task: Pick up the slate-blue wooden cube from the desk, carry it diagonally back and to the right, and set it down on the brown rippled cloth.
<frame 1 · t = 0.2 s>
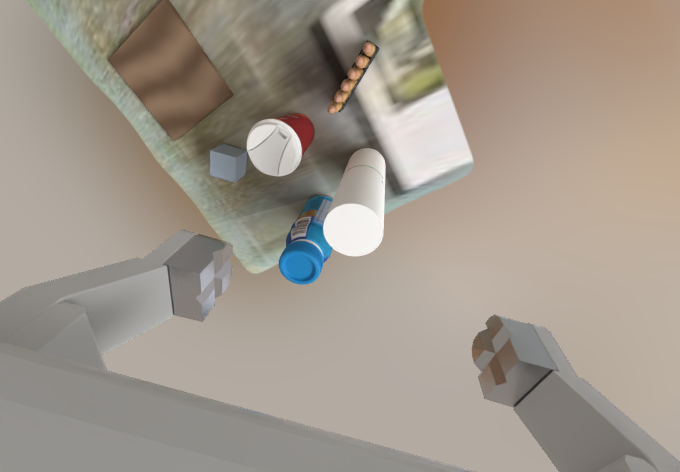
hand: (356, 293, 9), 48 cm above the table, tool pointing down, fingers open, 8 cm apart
beverage bottle: (323, 211, 62), on the table
ammunition clip: (355, 77, 48), on the table
brown rippled cloth: (173, 77, 52), on the table
cylindrical container: (366, 166, 55), on the table
coffee cup: (299, 130, 54), on the table
slate cube: (234, 159, 58), on the table
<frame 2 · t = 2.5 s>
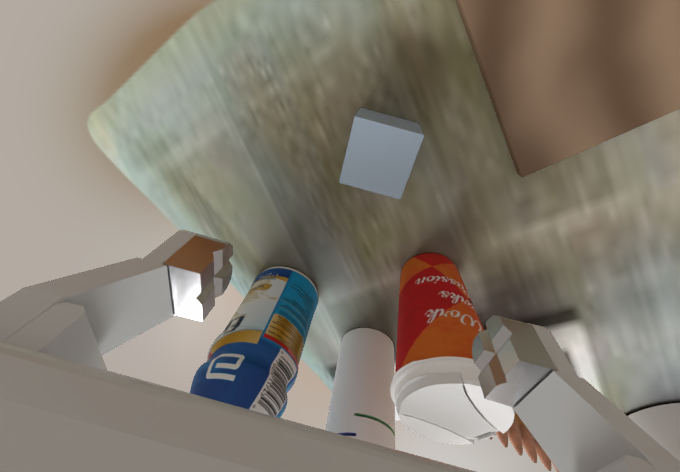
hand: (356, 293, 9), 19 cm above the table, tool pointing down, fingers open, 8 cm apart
beverage bottle: (287, 289, 36), on the table
ammunition clip: (488, 345, 36), on the table
brown rippled cloth: (611, 12, 19), on the table
cylindrical container: (367, 345, 39), on the table
coffee cup: (427, 273, 32), on the table
slate cube: (381, 144, 26), on the table
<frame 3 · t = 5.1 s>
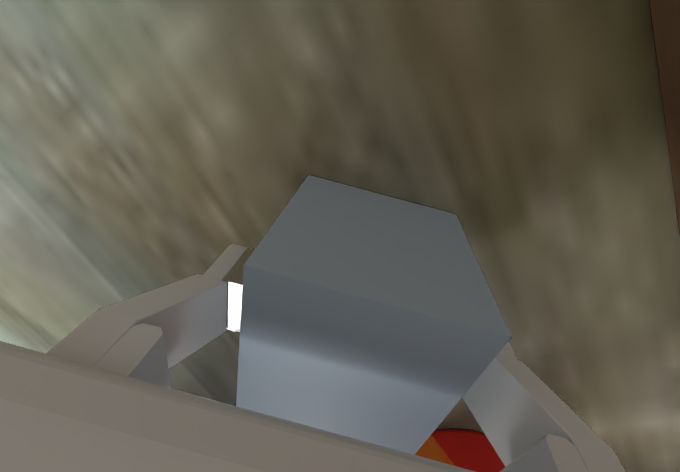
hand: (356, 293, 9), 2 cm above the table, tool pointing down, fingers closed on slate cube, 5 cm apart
coffee cup: (456, 451, 17), on the table
slate cube: (362, 254, 11), on the table, touching gripper
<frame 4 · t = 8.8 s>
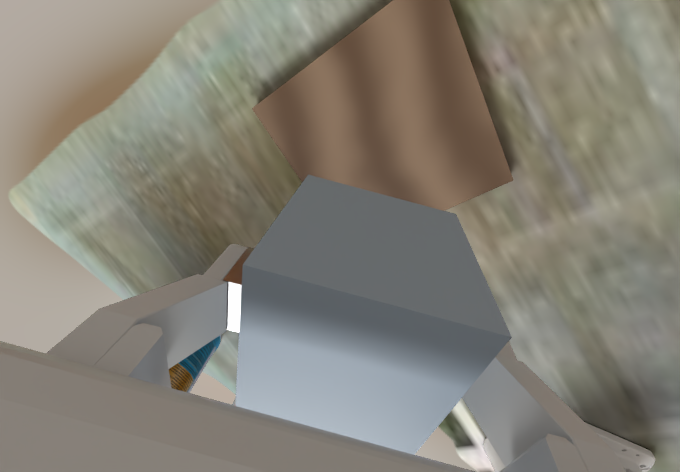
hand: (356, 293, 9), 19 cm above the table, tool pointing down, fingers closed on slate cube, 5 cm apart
beverage bottle: (196, 326, 42), on the table
brown rippled cloth: (382, 141, 25), on the table
slate cube: (362, 254, 11), point 17 cm above the table, touching gripper
when the fingers open (5 cm above the table, at t = 12.5 s): slate cube drops 1 cm, resting on brown rippled cloth.
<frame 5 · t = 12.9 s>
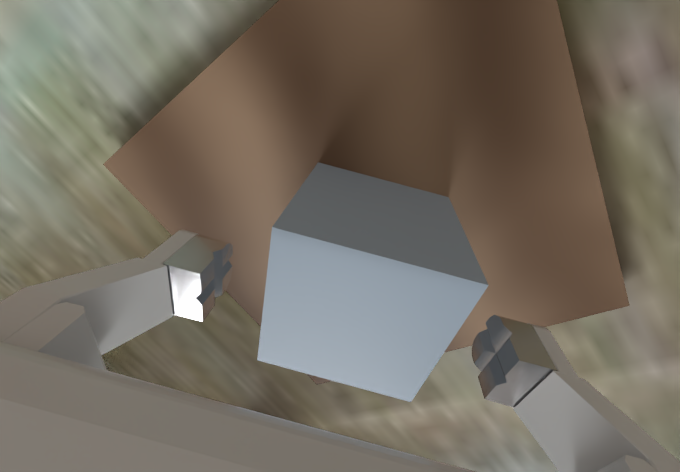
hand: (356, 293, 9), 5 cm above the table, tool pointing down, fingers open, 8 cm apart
brown rippled cloth: (366, 223, 13), on the table
slate cube: (365, 235, 12), point 1 cm above the table, touching brown rippled cloth
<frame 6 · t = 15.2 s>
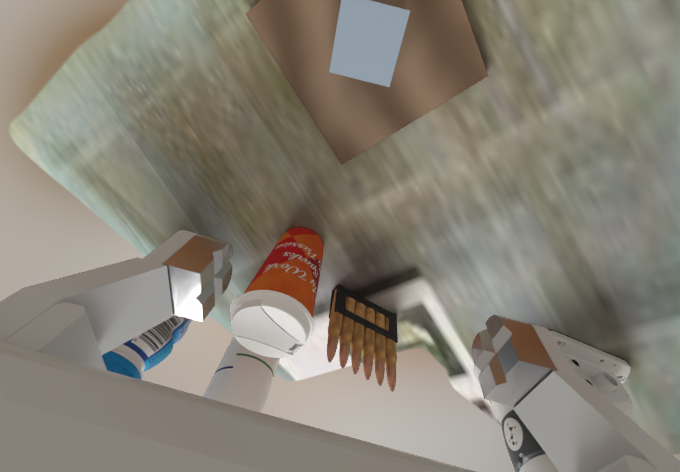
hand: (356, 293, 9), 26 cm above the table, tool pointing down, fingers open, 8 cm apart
beverage bottle: (197, 264, 44), on the table
ammunition clip: (364, 302, 44), on the table
brown rippled cloth: (368, 45, 27), on the table
cylindrical container: (272, 309, 47), on the table
coffee cup: (302, 244, 40), on the table
slate cube: (368, 45, 26), point 1 cm above the table, touching brown rippled cloth
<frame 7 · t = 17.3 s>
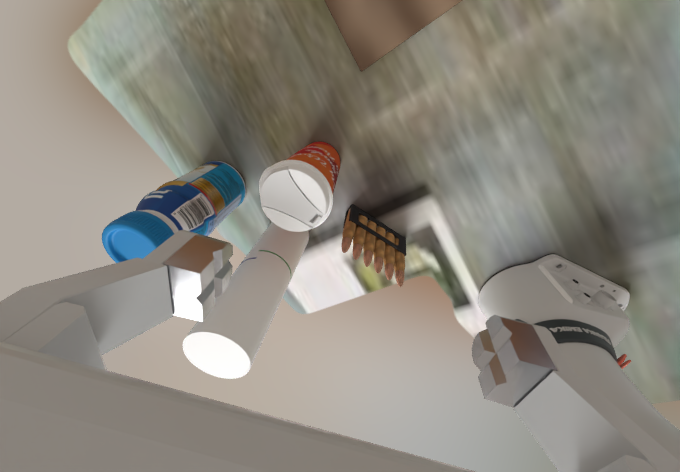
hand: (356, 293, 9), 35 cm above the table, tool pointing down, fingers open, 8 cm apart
beverage bottle: (223, 183, 48), on the table
ammunition clip: (376, 225, 47), on the table
cylindrical container: (289, 233, 51), on the table
coffee cup: (320, 161, 43), on the table
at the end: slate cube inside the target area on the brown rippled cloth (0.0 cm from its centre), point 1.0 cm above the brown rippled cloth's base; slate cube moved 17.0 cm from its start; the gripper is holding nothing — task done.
